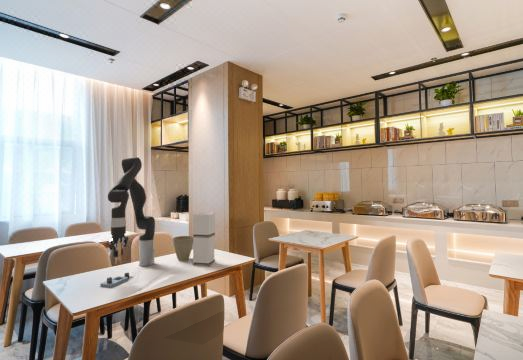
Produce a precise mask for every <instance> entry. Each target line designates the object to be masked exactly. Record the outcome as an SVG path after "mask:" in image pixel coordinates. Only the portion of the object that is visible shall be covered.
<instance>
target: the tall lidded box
mask: <svg viewBox="0 0 523 360" xmlns="http://www.w3.org/2000/svg"><path fill="white" fill-rule="evenodd" d="M192 237H193V245H192V261H193V262H192V265H193V266H197V267H198V266H199V267H210V266H212V265H213V264H215V263H216V259H215V237H216V213H215V212H199V213H194V214H192Z"/></svg>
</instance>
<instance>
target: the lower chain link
mask: <svg viewBox="0 0 523 360" xmlns="http://www.w3.org/2000/svg"><path fill="white" fill-rule="evenodd" d="M122 277H128V280H129V281H130V280H131V279H133V278H134V276H130V272H124V275H122ZM128 280H127V281H128ZM123 283H124V282H122V283H121V284H123Z"/></svg>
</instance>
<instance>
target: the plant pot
mask: <svg viewBox="0 0 523 360" xmlns="http://www.w3.org/2000/svg"><path fill="white" fill-rule="evenodd" d="M172 242H173V248H174V252H175V255H176V258H177V260H178V261H181V262H182V261H188V260H189V258H190V255H191V253H192V251H193V235H192V236H190V235H179V236H175V237H172Z"/></svg>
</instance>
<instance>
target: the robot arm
mask: <svg viewBox="0 0 523 360" xmlns="http://www.w3.org/2000/svg"><path fill="white" fill-rule="evenodd" d="M142 165H143V163H142V161H141V159H140V158H139V157H137V156H136V157H134V156H133V157H125V158H122V159H121V168H122V170H123V175H121V176H120V177H119V179H118V181H117V183H116V184H115V185H114V186H113V187H112V188H111V189H110V190H109V192H108V193H107V200H108V201H109V202H110V203H113V204H114V203H116V204H117V203H120V205H119V206H113V207H112V208H111V211H110V212H111V219H110V220H111V221H110V235H111V239H110V240H107V245H108V248H109V250H110V251H113V254H112V255H113V257H114V258H115V257H118V251H117V250H118V246H119V243H120V242H121V257H122V256H123V254H124V249H125V248H126V247H127V244H128V241H129V238H130V237H129V236H126V235H125V234H126V233H127V232H126V230H127V227H126V226H127V225H126V224H127V219H126V209H127V204H128V202H129V198H130V199H131V202H132V206H133V207H132V208H133V211H134V217H135V224H136V227H137V228H138V229H139V230H142V231H144V230H145V231H144V234H141V235H139V236H138V237H139V238H138V239H139V241H138V243H139V245H138V247H139V248H138V250H139V251H138V253H139V255H138V256H139V257H138V258H139V260H138V261H139V264H138V265H139V266H141V267H149V266H152V265H154V263H155V248H154V245H155V244H154V240H155V238H154V237H155V231H156V221H155V220H156V219H155V218H154V217H153V216H151V215H150V216H149V215H148V216H147V215H145V214H144V207H145V204H146V202H147V201H146V200H147V195H146V190H145V188H144V187H143V186H142V184H140V183H139V181H138V180H136V179H135V178H136V177H137V175H138V174H139V173H140V171H141V170H142V167H143V166H142ZM115 244H117V245H115ZM115 246H116V248H115Z"/></svg>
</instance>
